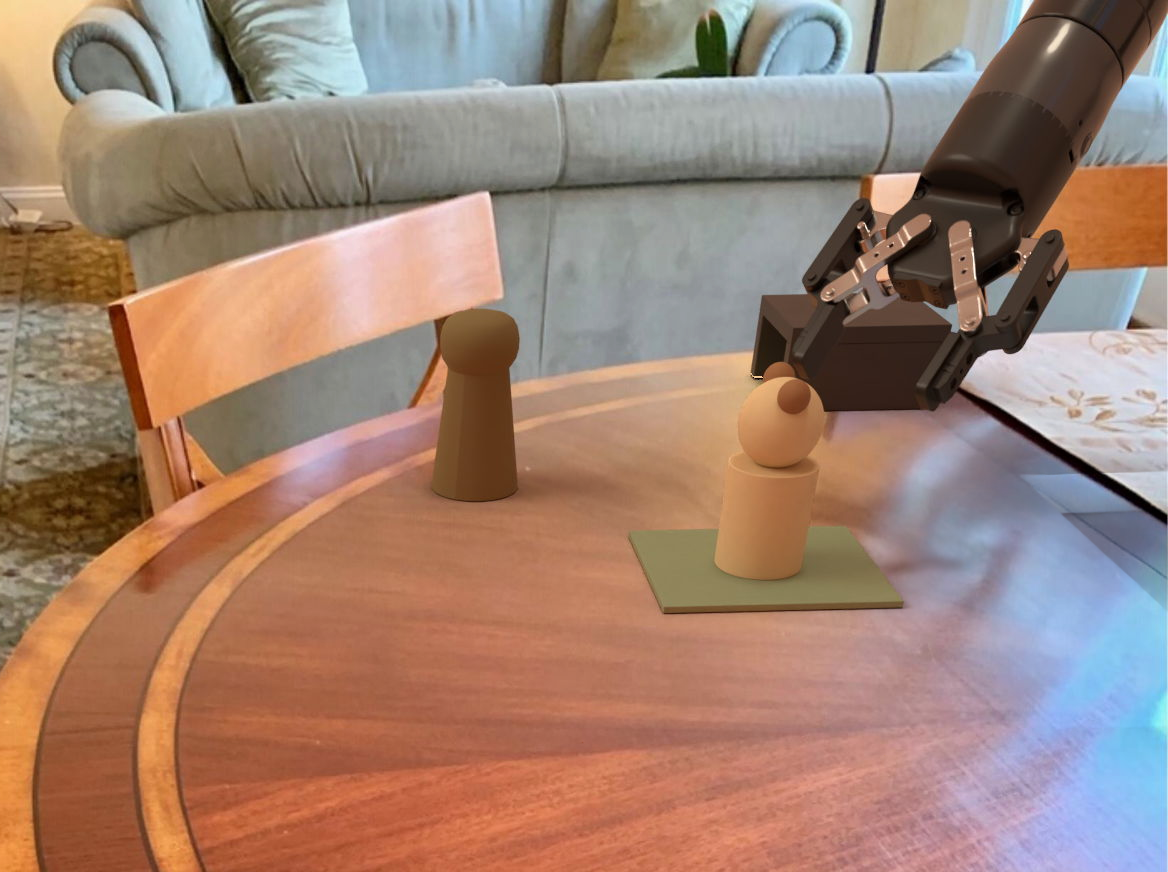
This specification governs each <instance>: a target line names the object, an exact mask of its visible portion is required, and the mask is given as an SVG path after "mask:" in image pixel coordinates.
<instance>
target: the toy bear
mask: <svg viewBox="0 0 1168 872" xmlns="http://www.w3.org/2000/svg"><path fill="white" fill-rule="evenodd" d="M737 418H738V419H737V436H738V440H739V443H740V446H741V447H742V450H741V451H738V452H736V453H734V454H732V455H731V456H730V457H729V459H728V463H727V470H726V477H725V483H724V491H723V498H722V503H721V504H722V505H721V512H720V519H719V525H718V529H719V531H718V538H717V545H716V552H715V559H714V561H715V564H716V566H717V567H718V568H719V569H721V570H722V571H724V572H726V573H728V574H731V575H734V576H737V577H741V578H746V579H754V580H776V579H783V578H787V577H790V576H793V575H795V574H796V573H798V572H799V571H800V569H801V566H802V561H803V555H804V550H805V544H806V539H807V534H808V528H809V527H810V522H811V517H812V511H813V506H814V500H815V495H816V490H817V489H816V488H817V485H818V478H819V472H820V468H821V465H820V462H819V461H818V460H817V459H816V458H815V457H812V456H811V455H810V454H811V453H812V451H813V450H814V449H815V448H816V446H817V445H818V443H819V441H820V439H821V436H822V434H823V430H824V426H825V411H824V409H823V405H822V402H821V400H820V397H819V396H818V394H817V393H816V391H815V390H814V389H813V388H812V387H811V386H810V385H809V384H807V383H806V382H804V381H802V380H800V379H796V378H795V372H794V370H793V368H792V367H791V366H790V365H789V364H787V363H785V362H777V363H774V364H772V365H771V366H769V367H768V369H767V370H766V371H765V373H764V376H763V379H762V383H761V384H760V385H758V386H757V387H756V388H755V389H754V390H752V391H751V392H750V393H749V395H748V396H747V397H746V399H745V401H744V402H743V404H742V406H741V409H740V412H739V414H738V417H737Z"/></svg>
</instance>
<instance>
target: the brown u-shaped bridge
mask: <svg viewBox="0 0 1168 872" xmlns="http://www.w3.org/2000/svg"><path fill="white" fill-rule="evenodd" d="M857 293H858V292H853V293H852V294H850V295H849V296H847V297H845V299H846V300H847V299H849V298H850V297H852V296H854V295H855V294H857ZM814 312H815V309H814V307H813V305H812V302H811V300H810V298H809V296H808V294H807V293H798V294H797V293H795V294H794V293H791V294H762V295H761V298H760V304H759V312H758V320H757V327H756V333H755V338H754V339H755V340H754V346H753V354H752V360H751V366H750V373H752V375H753V376H762V377H763V376H764V373H765V371H766V370H767V369H768V367H769V366H771V365H772V364H774V363H777V362H785V363H787V364H789V365H790V366H791V367H792V368H793V370H794V372H795V378H796V379H800V380H802V381H804V382H806V383H807V384H809V385H810V386H811V387H812V388H813V389H814V390H815V391H816V393H817V394H818V396H819V397H820V400H821V402H822V405H823V409H824V412H831V411H833V412H834V411H838V412H839V411H875V410H876V411H877V410H879V411H880V410H881V411H883V410H886V411H887V410H922V409H921V408H920V406H919V403H918V401H917V398H916V396H915V387H916V385H917V383H918V381H919V379H920V378H921V376H922V375H923V373H924V372H925V370H926V368H927V367H928V365H929V364H930V362H931V361H932V359H933V357H934V356H935V354H936V353H937V351H938V350H939V348H940V347H941V345H942V343H943V342H944V340H945V339H946V337H947V336H948V334H949V332H950V331H951V332H952V328H953V324H952V323H951V322H950V321H948V320H947V319H946V318H945V317H943V316H942V315H941V314H939V312H937V311H936V310H934V309H933V308H932V307H930V306H929V305H928V304H927V303H926V302H908V301H903V300H901V298H900V297H899V298H897V299H896V300H894V301H893V302H891V303H889V304H888V305H886V306H885V307H883V308H881V309H879V310H875V309H869V310H867V311H866V312H864V313H863V314H861V315H860V316H858V317H856V318H855V319H853V320H852V321H850V322H848V323H847V324H845V325H844V327H845V329H846V330H845V331H844V333H843V334H842V336H841V338H840V339H839V341H838V342H837V344H836V345H835V347H834V349H833V350H832V352H831V353H830V355H829V357H828V358H827V360H826V361H825V363H824V365H823V366H822V368H821V369H820V371H819V372H818V374H817V376H816V377H815V378H814V379H813V380H809V379H805V378H801V377H800V375H799V373H798V371H797V370H796V368H795V366H794V363H793V357H794V355H793V353H792V350H793V346H794V344H795V342H796V340H797V339H798V337H800V334H801V332H802V331H803V330H804V328H805V326H806V324H807V323H808V321H809V320H810V318H811V316H812V315H813V313H814Z"/></svg>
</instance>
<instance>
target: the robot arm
mask: <svg viewBox="0 0 1168 872" xmlns="http://www.w3.org/2000/svg"><path fill="white" fill-rule="evenodd" d="M1167 16H1168V0H1033V1H1032V2H1031V4H1030V5H1029V7H1028V9H1027V10H1026V12H1025V13H1024V15H1023V17H1022V18H1021V20H1020V21H1019V23H1018V24H1017V26H1016V28H1015V30H1014V31H1013V32H1012V34H1011V35H1010V37H1009V38H1008V40H1007V41H1006V42H1005V43H1004V45H1003V46H1002V47H1001V48H1000V49H999V50H998V51H997V53H995V56H993V58H992V59H991V61H990V62H989V63H988V64H987V66H986V68H985V69H984V70H983V72H982V73H981V75H980V77H979V78H978V80H977V82H976V83H975V84H974V86H973V88H972V90H971V91H970V93H969V94H968V95H967V98H966V99H965V101H964V102H963V104H962V105H961V107H960V109H958V112H957V113H956V115H955V117H954V118H953V120H952V121H951V123H950V125H949V126H948V128H947V129H946V131H945V132H944V134H943V135H942V137H941V138H940V140H939V142H938V144H937V145H936V146H935V148H934V150H933V151H932V153H931V154H930V156H929V157H928V159H927V161H926V163H925V164H924V166H923V168H922V169H921V171H920V173H919V177H918V179H917V182H916V185H915V188H914V191H913V193H912V195H911V197H910V199H909V200H908V201H907V202H906V203H905V204H904V205H903V206H901V208H899V209H898V210H897V211H895V212H894V213H893V214H891V213H886V212H882V211H878V210H875V209H874V208H873V206H872V203H871V201H870V199H869V198H868V197H861V198H859V199H856V200H855V201H854V202H853V203H852V204H851V206H850V207H849V209H848V210H847V212H846V213H845V215H844V216H843V217H842V219H841V220H840V222H839V223H838V225H837V226H836V227H835V228H834V230H833V232H832V233H831V235H830V236H829V238H828V239H827V240H826V242H825V243H824V245H823V246H822V248H821V249H820V251H819V252H818V254H817V255H816V257H815V258H814V259H813V261H812V262H811V264H810V266H808V268H807V269H806V271H805V272H804V273H803V276H802V278H801V284H802V285H803V287H804V290H805V292H806V294H808V296H809V298H810V300H811V302H812V305H813V307H814V309H815V312H814V313H813V315H812V316H811V318H810V320H809V321H808V323H807V324H806V326H805V328H804V330H803V331H802V332H801V334H800V337H798V339H797V340H796V342H795V344H794V346H793V350H792V353H793V355H794V357H793V363H794V366H795V368H796V370H797V371H798V373H799V375H800V377H801V378H805V379H809V380H813V379H814V378H815V377H816V376H817V374H818V372H819V371H820V369H821V368H822V366H823V365H824V363H825V361H826V360H827V358H828V357H829V355H830V353H831V352H832V350H833V349H834V347H835V345H836V344H837V342H838V341H839V339H840V338H841V336H842V334H843V333H844V331H845V330H846V329H845V327H844V325H845V324H847V323H848V322H850V321H852V320H853V319H855V318H856V317H858V316H860V315H861V314H863V313H864V312H866V311H867V310H869V309H875V310H879V309H881V308H883V307H885V306H886V305H888V304H889V303H891V302H893V301H894V300H896V299H897V298H899V297H900V298H901V300H903V301H908V302H924V303H928V304H929V305H931V306H932V307H934V308H938V309H942V310H948V308H949V307H950V306H953V305H956V308H957V318H958V327H959V329H958V330H957V331H956V332H955V331H952V330H951V331H950V332H949V334H948V336H947V337H946V339H945V340H944V342H943V343H942V345H941V347H940V348H939V350H938V351H937V353H936V354H935V356H934V357H933V359H932V361H931V362H930V364H929V365H928V367H927V368H926V370H925V372H924V373H923V375H922V376H921V378H920V379H919V381H918V383H917V385H916V387H915V396H916V398H917V401H918V403H919V406H920V408H921V409H920V410H924V411H928V412H931V413H932V412H935V411H936V410H937V409H938V408H939V407H940V404H944V405H945V404H946V403H947V402H948V401H949V400H951V399H952V398H953V397H954V395H956V392H957V391H958V390H959V388H960V386H961V385H962V383H963V381H964V380H965V378H966V377H967V375H968V374H969V372H970V370H971V369H972V368H973V366H974V364H975V363H976V361H977V360H978V358H981V357H983V356H985V355H987V353H988V352H992V351H1000V350H1002V351H1003V353H1004V354H1006V355H1015V354H1016V353H1017V354H1018V352H1020V351H1021V350H1022V349H1023V348H1024V347H1025V345H1026V343H1027V342H1028V340H1029V338H1030V336H1031V334H1032V333H1033V331H1034V329H1035V328H1036V326H1037V325H1038V322H1039V320H1040V319H1041V317H1042V315H1043V313H1044V312H1045V310H1046V308H1047V306H1048V305H1049V303H1050V301H1051V300H1052V298H1053V296H1054V295H1055V293H1056V291H1057V290H1058V288H1059V286H1060V285H1061V282H1062V281H1063V279H1064V277H1065V275H1066V274H1067V272H1068V270H1069V268H1070V261H1069V257H1068V251H1067V248H1066V245H1065V244H1066V243H1065V240H1064V237H1063V233H1062V231H1061V230H1059V229H1056V228H1055V229H1054V228H1053V229H1049V230H1047V231H1045V232H1043V233H1042V235H1041V236H1040V237H1039V238H1036V237H1033V236H1034V235H1035V233H1036V232H1037V230H1038V229H1039V227H1040V225H1041V224H1042V222H1043V221H1044V220H1045V217H1046V216H1047V214H1048V213H1049V212H1050V209H1051V208H1052V207H1053V205H1054V203H1055V202H1056V200H1057V199H1058V197H1059V196H1060V194H1061V192H1062V191H1063V189H1064V188H1065V186H1066V185H1067V183H1068V182H1069V180H1070V179H1071V177H1072V175H1073V174H1074V173H1075V171H1076V169H1077V168H1078V166H1079V165H1080V163H1081V161H1083V158H1085V156H1086V155H1087V154H1088V152H1089V150H1090V149H1091V146H1092V144H1093V143H1094V141H1095V140H1096V138H1097V136H1098V134H1099V133H1100V131H1101V130H1102V127H1103V125H1104V123H1105V121H1106V119H1107V118H1108V115H1109V112H1110V110H1111V108H1112V106H1113V104H1114V103H1115V102H1116V101H1115V100H1116V99H1117V97H1118V95H1119V93H1120V92H1121V90H1122V89H1123V87H1124V86H1125V85H1126V83H1127V81H1128V80H1129V78H1130V76H1131V75H1132V73H1133V72H1134V70H1135V69H1136V67H1137V65H1138V64H1139V63H1140V61H1141V59H1142V58H1143V56H1144V54H1145V53H1146V51H1147V50H1148V49H1149V47H1150V45H1151V44H1152V43H1153V41H1154V39H1155V38H1156V36H1157V34H1158V33H1159V31H1160V30H1161V28H1162V26H1163V24H1164V22H1165V20H1166V18H1167ZM886 266H887V267H886ZM884 267H886V268H887V275H888V279H887V280H885V281H883V282H878V279H877V274H878V272H879V271H880V270H881V269H882V268H884ZM1017 267H1018V271H1019V274H1018V275H1017V277H1016V279H1015V281H1014V282H1013V284H1012V286H1011V288H1010V290H1009V291H1008V293H1007V295H1006V296H1005V298H1004V299H1003V301H1002V303H1001V305H1000V306H999V308H998V310H997V312H996V314H993V315H992V314H991V315H989V304H988V294H987V293H988V292H987V286H989V285H991V284H992V283H994V282H995V281H997V280H999V279H1000V278H1002V277H1003V276H1005V275H1006V274H1008V273H1009V272H1011V271H1013V270H1014V269H1015V268H1017ZM860 289H861V290H860ZM858 290H860V291H858ZM857 291H858V292H857ZM852 293H857V294H855V295H854V296H852V297H850V298H849V299H847V300H846V299H845V297H847V296H849V295H850V294H852Z"/></svg>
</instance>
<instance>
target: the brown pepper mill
mask: <svg viewBox="0 0 1168 872" xmlns="http://www.w3.org/2000/svg"><path fill="white" fill-rule="evenodd" d="M439 337H440V338H439V341H440V342H439V349H440V354H441V358H442V360H443V362H444V364H445V365H446V367H447V372H446V379H445V387H444V393H443V398H442V399H443V401H442V406H441V407H442V408H441V414H440V420H439V428H438V435H437V441H436V449H435V457H434V463H433V471H432V477H431V484H430V485H431V487H430V488H431V490H432V491H433V492H434V493H436V494H438V495H439V496H441V497H444V498H447V499H451V500H456V501H465V502H487V501H495V500H501V499H503V498H507V497H509V496H512V495H513V494H515V493H516V492H517V491H518V489H519V483H518V482H519V481H518V470H517V455H516V442H515V441H516V440H515V427H514V414H513V399H512V383H511V372H510V369H511V367H512V365H514V363H515V361H516V359H517V357H518V354H519V350H520V338H521V337H520V333H519V327H518V324H517V322H516V320H515V318H514V317H512V316H511V315H510V314H508V313H506V312H505V311H501V310H497V309H491V308H469V309H464V310H459V311H456V312H454V313H452V314H451V315H449V317H447V318H446V319H445V321H444V323H443V325H442V326H441V331H440V335H439Z"/></svg>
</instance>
